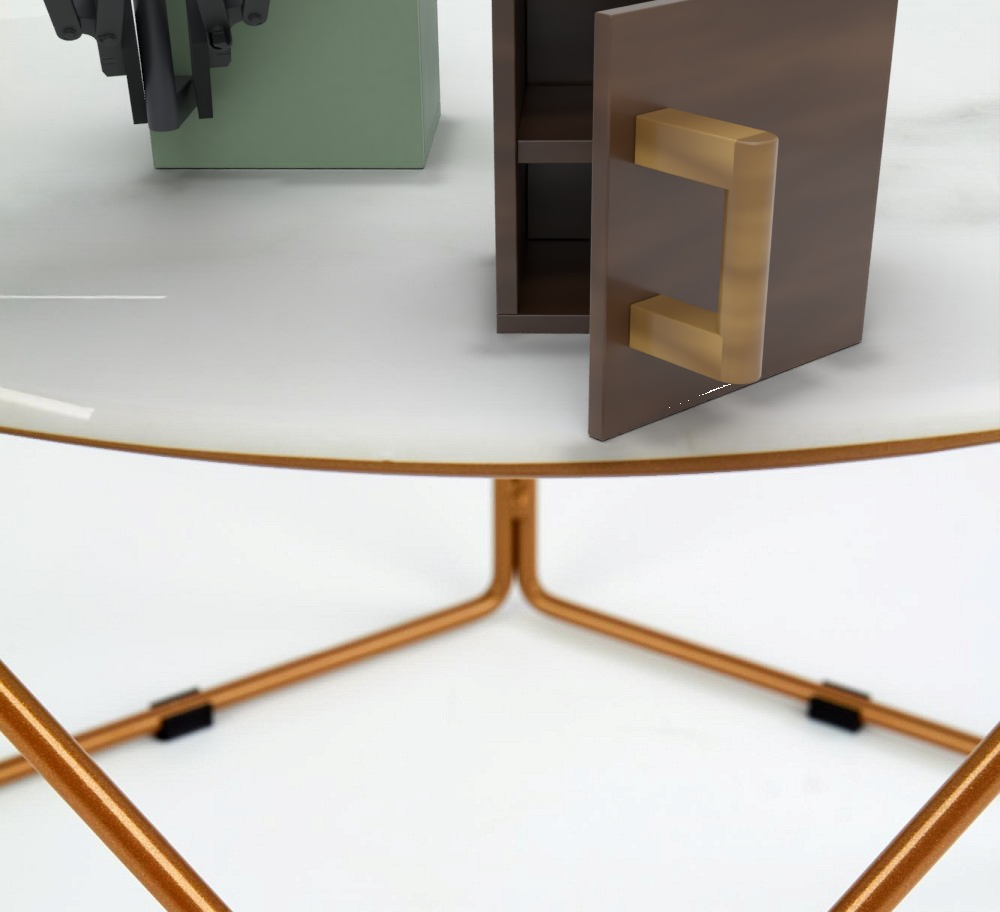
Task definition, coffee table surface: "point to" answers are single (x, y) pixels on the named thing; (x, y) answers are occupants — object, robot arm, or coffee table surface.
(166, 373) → the coffee table surface
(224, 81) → the far door
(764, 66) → the near door
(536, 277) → the near cabinet
